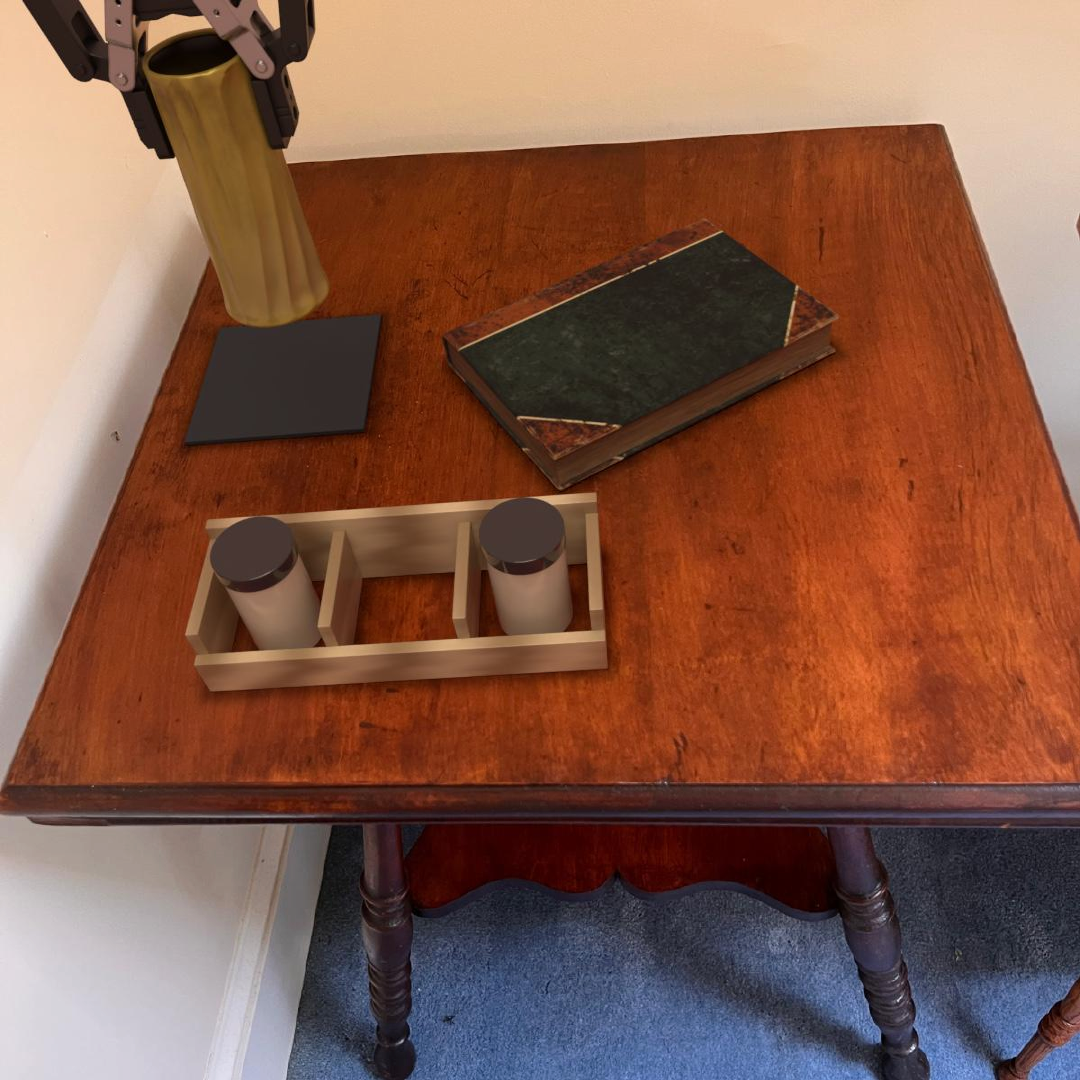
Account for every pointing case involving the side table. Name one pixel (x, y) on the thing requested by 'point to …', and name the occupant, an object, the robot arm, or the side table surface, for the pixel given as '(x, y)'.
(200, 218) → the vase
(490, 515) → the spice jar right
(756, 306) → the book
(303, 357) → the mat
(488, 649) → the rack
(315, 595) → the spice jar left
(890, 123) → the side table surface
